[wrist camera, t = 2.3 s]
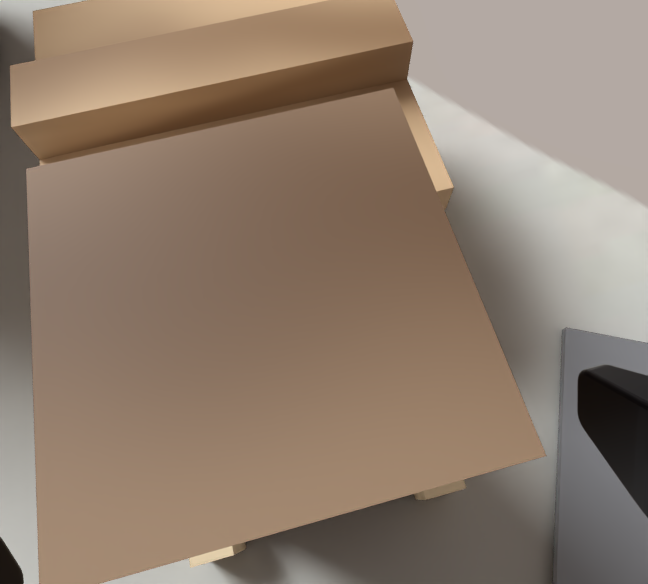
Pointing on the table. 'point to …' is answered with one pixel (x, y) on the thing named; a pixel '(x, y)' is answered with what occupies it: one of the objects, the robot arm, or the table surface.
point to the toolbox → (206, 79)
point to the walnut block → (251, 339)
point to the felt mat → (594, 479)
